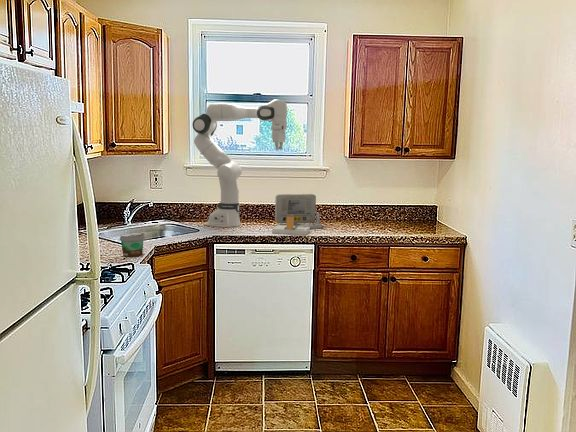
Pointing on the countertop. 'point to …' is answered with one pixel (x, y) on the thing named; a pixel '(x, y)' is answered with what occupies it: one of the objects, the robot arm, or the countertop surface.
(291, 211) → the network device
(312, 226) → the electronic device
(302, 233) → the switch panel
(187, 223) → the countertop surface
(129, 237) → the food container
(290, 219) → the switch tab
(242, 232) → the countertop surface
